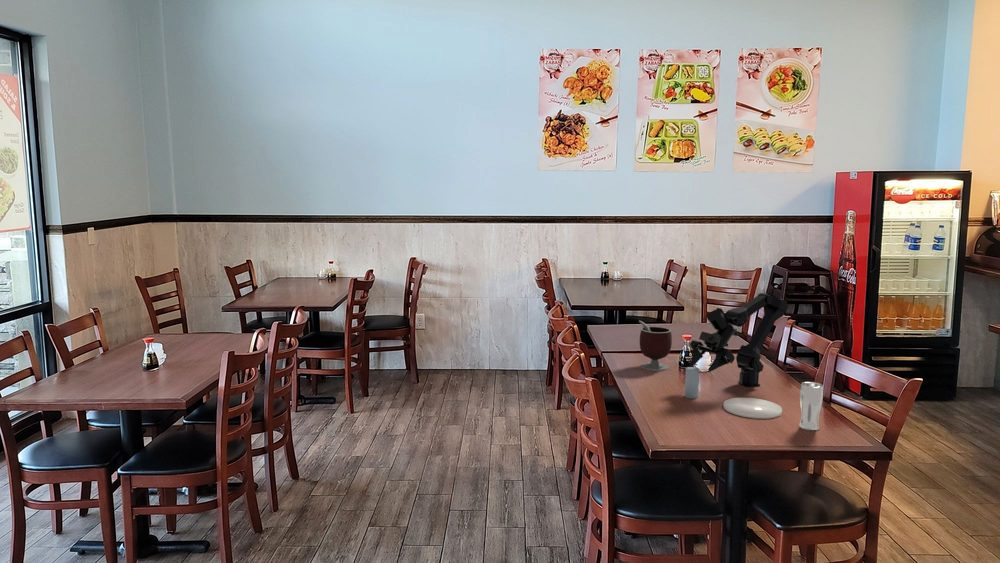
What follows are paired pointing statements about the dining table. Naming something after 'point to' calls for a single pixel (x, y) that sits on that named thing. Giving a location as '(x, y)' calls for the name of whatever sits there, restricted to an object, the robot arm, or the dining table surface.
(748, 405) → the plate
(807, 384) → the beer glass
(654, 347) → the mate gourd
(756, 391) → the dining table surface
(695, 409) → the dining table surface
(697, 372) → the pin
